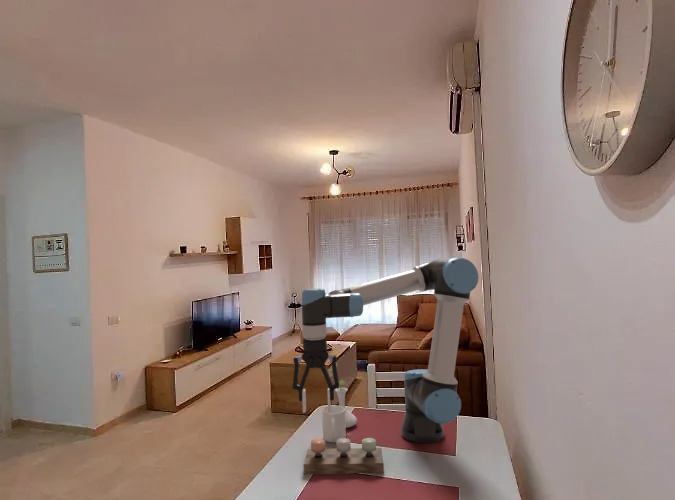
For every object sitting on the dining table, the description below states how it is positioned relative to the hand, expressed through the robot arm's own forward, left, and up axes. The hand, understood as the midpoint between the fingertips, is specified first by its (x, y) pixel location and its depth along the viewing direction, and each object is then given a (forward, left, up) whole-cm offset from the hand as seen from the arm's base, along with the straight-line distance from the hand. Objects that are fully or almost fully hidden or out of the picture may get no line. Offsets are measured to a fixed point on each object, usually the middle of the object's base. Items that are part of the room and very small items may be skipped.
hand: (316, 410), depth 128 cm
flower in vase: (-6, -31, -17) cm, 36 cm away
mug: (-4, -18, -17) cm, 25 cm away
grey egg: (-8, 0, -14) cm, 16 cm away
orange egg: (0, 0, -14) cm, 14 cm away
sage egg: (-16, 0, -14) cm, 21 cm away
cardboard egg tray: (-8, 0, -17) cm, 19 cm away
